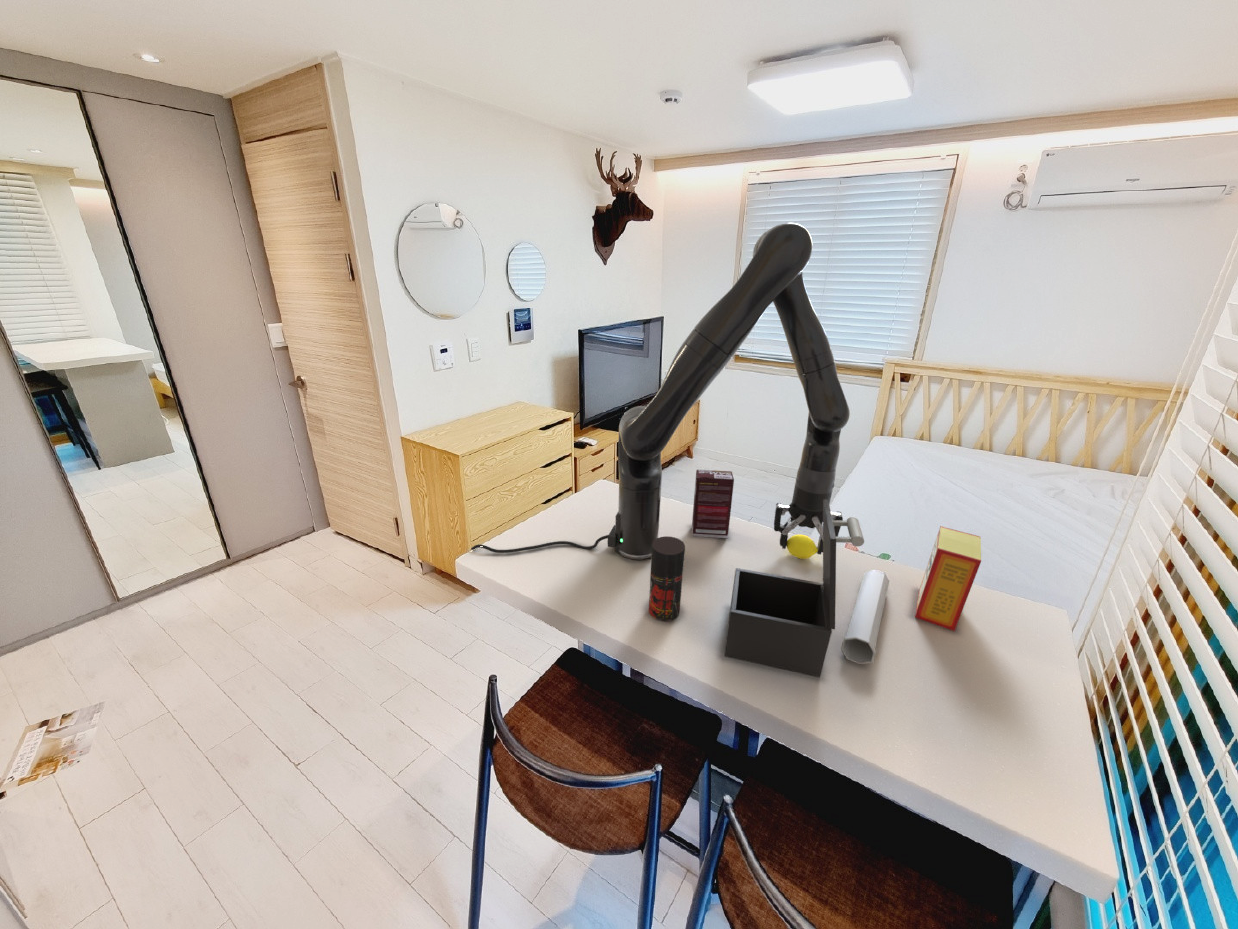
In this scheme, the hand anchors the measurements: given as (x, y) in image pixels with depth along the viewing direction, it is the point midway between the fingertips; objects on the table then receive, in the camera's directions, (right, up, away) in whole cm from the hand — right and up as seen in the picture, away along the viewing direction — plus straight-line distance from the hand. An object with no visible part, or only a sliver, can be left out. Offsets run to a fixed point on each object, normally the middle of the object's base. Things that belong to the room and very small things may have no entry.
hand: (801, 549), depth 113 cm
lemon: (0, -2, +1) cm, 2 cm away
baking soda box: (+21, -9, -15) cm, 27 cm away
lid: (-8, +3, -32) cm, 33 cm away
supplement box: (-19, +2, +9) cm, 21 cm away
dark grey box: (-14, -12, -23) cm, 30 cm away
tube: (+6, -10, -18) cm, 21 cm away
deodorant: (-32, -9, -17) cm, 38 cm away
